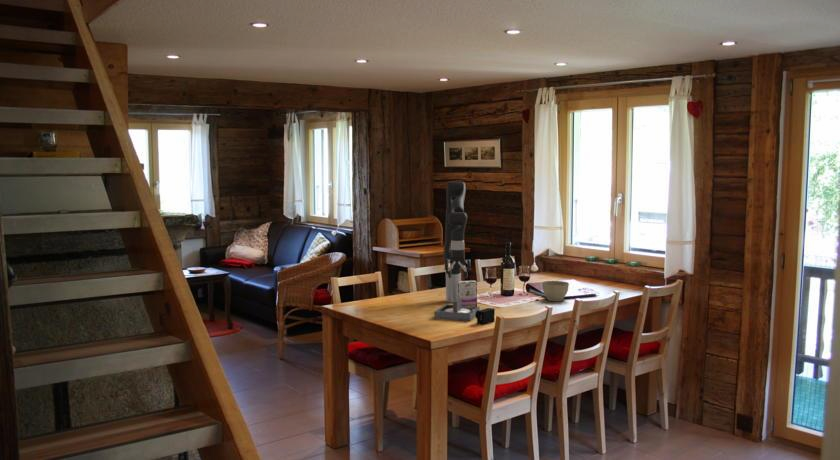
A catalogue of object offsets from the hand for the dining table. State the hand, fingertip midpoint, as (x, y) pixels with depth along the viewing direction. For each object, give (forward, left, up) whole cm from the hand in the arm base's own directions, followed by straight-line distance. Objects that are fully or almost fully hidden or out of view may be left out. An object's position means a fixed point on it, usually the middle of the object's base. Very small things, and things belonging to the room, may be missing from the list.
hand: (457, 278), depth 381 cm
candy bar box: (-19, 0, -21) cm, 29 cm away
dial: (0, 0, -19) cm, 19 cm away
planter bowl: (-62, +44, -21) cm, 79 cm away
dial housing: (0, 0, -21) cm, 21 cm away
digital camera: (+10, +18, -21) cm, 30 cm away
